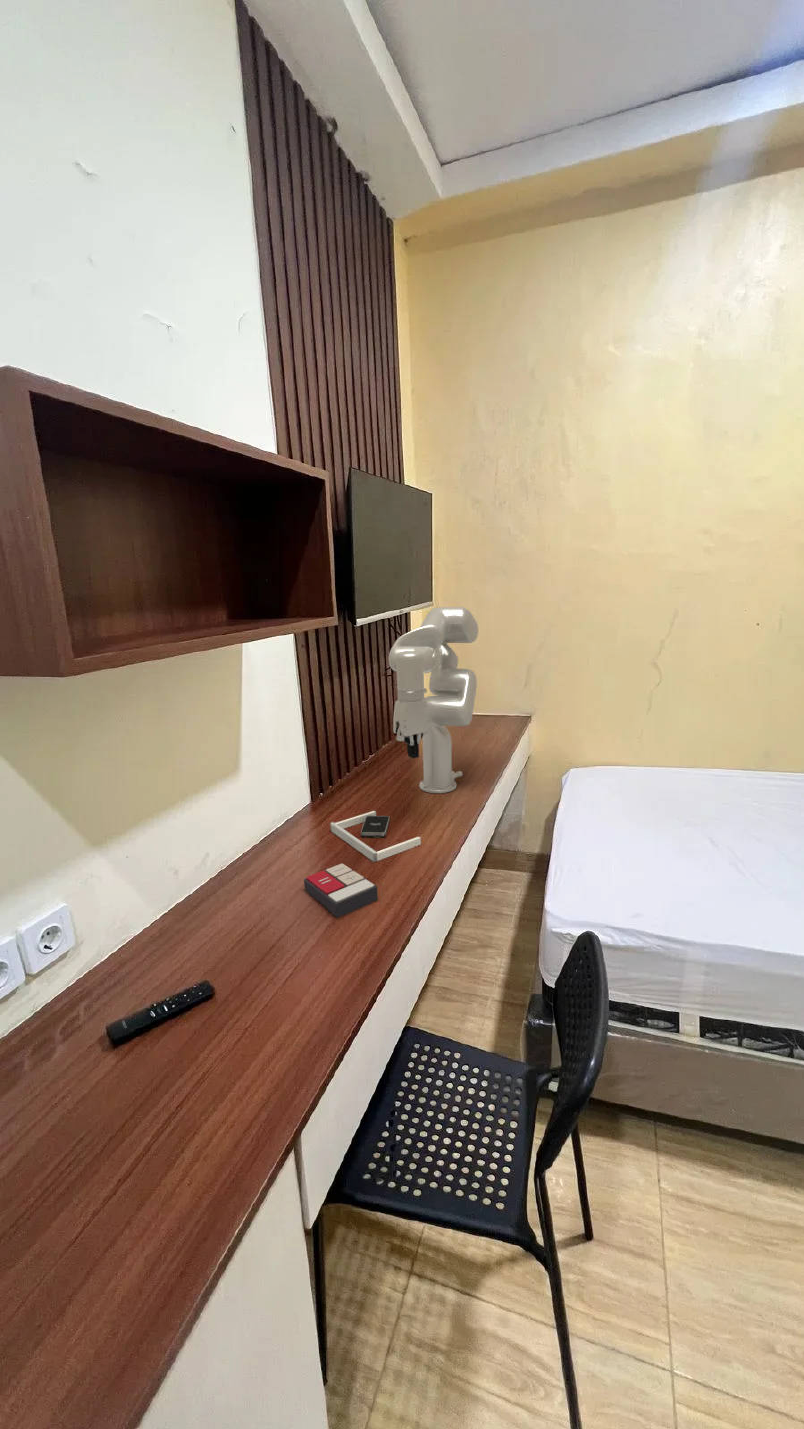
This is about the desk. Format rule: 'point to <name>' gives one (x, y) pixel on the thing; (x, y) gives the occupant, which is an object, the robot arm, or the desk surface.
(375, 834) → the external hard drive
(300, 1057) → the desk surface
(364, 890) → the button keypad
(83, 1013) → the desk surface
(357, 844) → the white u-shaped frame
